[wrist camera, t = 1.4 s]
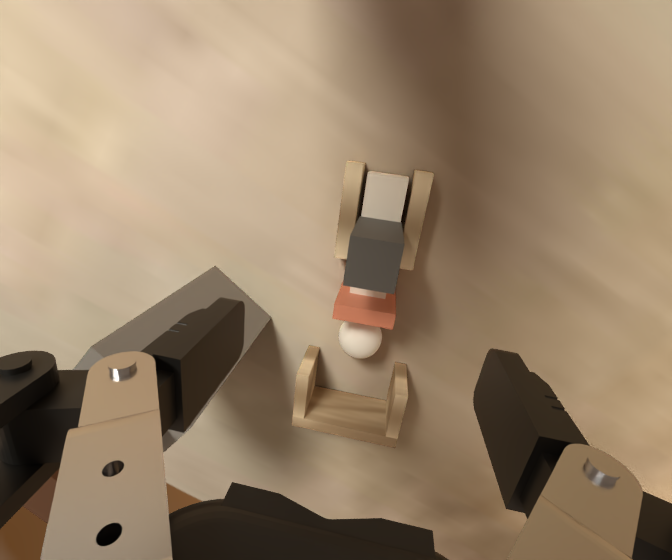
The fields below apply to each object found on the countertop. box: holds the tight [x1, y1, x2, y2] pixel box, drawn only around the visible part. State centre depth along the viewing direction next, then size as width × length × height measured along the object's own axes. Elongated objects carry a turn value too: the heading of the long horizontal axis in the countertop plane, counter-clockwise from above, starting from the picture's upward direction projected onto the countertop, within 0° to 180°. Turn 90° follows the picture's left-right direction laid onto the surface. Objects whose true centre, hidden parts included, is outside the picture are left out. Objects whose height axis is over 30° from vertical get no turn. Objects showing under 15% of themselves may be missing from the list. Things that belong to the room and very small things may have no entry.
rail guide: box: [334, 161, 434, 271], centre depth 25 cm, size 7×6×2 cm
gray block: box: [333, 171, 409, 330], centre depth 23 cm, size 10×4×8 cm, turn 173°
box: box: [292, 345, 408, 448], centre depth 30 cm, size 5×9×4 cm, turn 83°
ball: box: [339, 321, 382, 358], centre depth 28 cm, size 4×4×4 cm
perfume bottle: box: [23, 266, 271, 523], centre depth 24 cm, size 7×7×18 cm
